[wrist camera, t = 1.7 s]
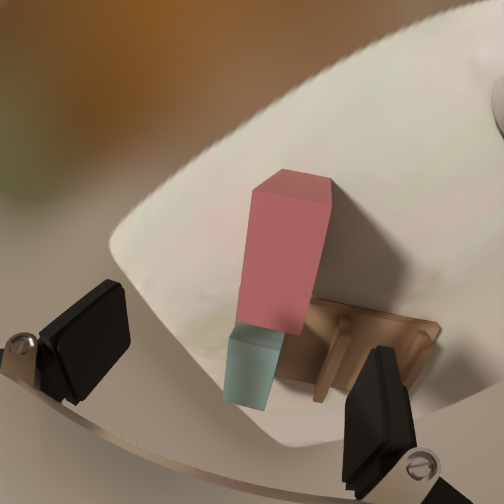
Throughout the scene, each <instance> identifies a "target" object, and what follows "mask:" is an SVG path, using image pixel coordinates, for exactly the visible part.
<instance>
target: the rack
mask: <svg viewBox="0 0 504 504" xmlns="http://www.w3.org/2000/svg"><path fill="white" fill-rule="evenodd" d="M239 294H240V288H239ZM238 302H239V296H238ZM237 310H238V304H237ZM236 318H237V313H236ZM439 330H440V328H439V326H438V324H437V322H432V321H427V320H421V319H416V318H410V317H405V316H400V315H395V314H390V313H385V312H379V311H374V310H369V309H364V308H360V307H355V306H350V305H345V304H340V303H335V302H331V301H326V300H321V299H317V298H312V297H311V299H310V303H309V307H308V310H307V314H306V318H305V321H304V325H303V329H302V332H301V336H298V335H294V334H290V333H285V332H281V331H277V330H272V329H268V328H264V327H260V326H256V325H252V324H248V323H244V322H240V321H235V327H234V329H233V331H232V333H231V335H230V337H229V342H228V352H227V361H226V371H225V381H224V391H223V400H224V401H228V402H231V403H234V404H238V405H241V406H245V407H249V408H253V409H257V410H260V411H264V410H265V406H266V403H267V399H268V396H269V393H270V389H271V386H272V382H273V378H274V375H275V376H279V377H284V378H288V379H293V380H297V381H302V382H307V383H312V384H315V390H314V397H313V402H319V403H323V401H324V399H325V397H326V394H327V392H328V390H329V388H330V387H333V388H339V389H345V390H351V389H352V387H353V385H354V383H355V381H356V379H357V377H358V375H359V373H360V371H361V369H362V367H363V365H364V363H365V361H366V359H367V357H368V354H369V352H370V350H371V349H372V348H374V349H376V347H377V346H378V345H381V346H387V347H393V348H394V350H395V354H396V359H397V363H398V368H399V373H400V378H401V383H402V385H405V386H406V388H407V390H409V389H410V387H411V386H412V384H413V383H414V381H415V379H416V378H417V376H418V375H419V373H420V371H421V370H422V368H423V366H424V365H425V363H426V361H427V360H428V358H429V356H430V354H431V353H432V348H431V345H432V343H433V341H434V340H435V338H436V336H437V334H438V332H439Z"/></svg>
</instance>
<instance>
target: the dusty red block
mask: <svg viewBox="0 0 504 504" xmlns="http://www.w3.org/2000/svg"><path fill="white" fill-rule="evenodd" d="M331 209H332V193H331V178H327V177H322V176H317V175H312V174H307V173H302V172H297V171H291V170H286V169H281V170H280V171H278V172H277V173H276V174H274V175H273V176H271V177H270V178H269V179H267V180H266V181H264V182H263V183H262V184H260V185H259V186H257V187H256V188H255V189H253V191H252V198H251V206H250V214H249V222H248V230H247V238H246V245H245V253H244V261H243V269H242V277H241V285H240V294H239V302H238V310H237V318H236V321H240V322H244V323H248V324H252V325H256V326H260V327H264V328H268V329H272V330H277V331H281V332H285V333H290V334H294V335H298V336H301V332H302V329H303V325H304V321H305V318H306V314H307V310H308V307H309V303H310V299H311V295H312V291H313V287H314V283H315V279H316V275H317V271H318V267H319V263H320V259H321V255H322V250H323V246H324V241H325V237H326V233H327V228H328V223H329V219H330V214H331Z"/></svg>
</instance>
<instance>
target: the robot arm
mask: <svg viewBox="0 0 504 504" xmlns="http://www.w3.org/2000/svg"><path fill="white" fill-rule="evenodd" d="M39 335H40V338H39V339H38V340H37V338H36V336H34V335H33V334H31V333H25V332H23V333H18V334H16V335H14V336H12V337H11V338H10V339H9V340H8V341H7V343H6V345H5V348H4V349H0V504H473V503H472V502H471V501H470V500H469V499H467V498H466V497H465V496H464V495H462V494H461V493H460V492H458V491H457V490H456V489H455V488H453V487H452V486H451V485H450V484H448V483H447V482H446V481H445V480H444V479H442V478H441V477H440V473H441V462H440V460H439V458H438V456H437V455H436V454H435V453H434V452H433V451H431V450H429V449H427V448H423V447H417V442H416V436H415V430H414V423H413V417H412V411H411V406H410V400H409V395H408V390H407V388H406V386H405V385H402V383H401V378H400V373H399V368H398V363H397V359H396V354H395V350H394V348H393V347H387V346H381V345H378V346H377V347H376V349H374V348H372V349H371V350H370V352H369V354H368V357H367V359H366V361H365V363H364V365H363V367H362V369H361V371H360V373H359V375H358V377H357V379H356V381H355V383H354V385H353V387H352V389H351V391H350V393H349V395H348V396H347V399H346V403H345V428H344V452H343V468H342V482H345V483H346V490H353V491H355V497H356V499H355V500H351V499H342V498H333V497H326V496H317V495H310V494H303V493H296V492H290V491H285V490H279V489H273V488H269V487H264V486H259V485H255V484H250V483H246V482H242V481H238V480H234V479H230V478H227V477H223V476H220V475H216V474H213V473H210V472H207V471H203V470H200V469H197V468H194V467H191V466H188V465H185V464H183V463H180V462H177V461H174V460H172V459H169V458H167V457H164V456H162V455H159V454H157V453H154V452H152V451H149V450H147V449H145V448H143V447H140V446H138V445H136V444H133V443H132V442H129V441H127V440H125V439H123V438H121V437H119V436H117V435H115V434H113V433H111V432H109V431H107V430H105V429H103V428H101V427H99V426H97V425H96V424H94V423H92V422H90V421H89V420H87V419H85V418H83V417H81V416H80V415H78V414H76V413H75V412H73V411H72V410H70V409H68V408H67V407H65V406H63V405H62V400H63V399H64V398H65V399H66V400H67V401H69V402H71V403H72V404H74V405H75V406H76V405H77V404H78V403H79V402H80V401H83V400H85V399H86V397H87V396H88V395H89V394H90V392H91V391H92V390H93V389H94V388H95V387H96V386H97V384H98V383H99V382H100V381H101V380H102V378H103V377H104V376H105V375H106V374H107V372H108V371H109V370H110V369H111V368H112V367H113V365H114V364H115V363H116V362H117V361H118V360H119V358H120V357H121V356H122V355H123V354H124V353H125V351H126V350H127V349H128V348H129V346H130V342H131V339H130V332H129V325H128V317H127V309H126V301H125V291H124V289H123V288H122V285H121V284H120V283H119V282H115V281H112V280H109V279H106V280H105V281H103V282H102V283H101V284H99V285H98V286H97V287H96V288H94V289H93V290H91V291H90V292H89V293H88V294H86V295H85V296H84V297H83V298H81V299H80V300H79V301H77V302H76V303H75V304H74V305H72V306H71V307H70V308H69V309H67V310H66V311H65V312H64V313H62V314H61V315H60V316H59V317H57V318H56V319H55V320H54V321H52V322H51V323H50V324H49V325H48V326H46V327H45V328H44V329H43V330H42V331H40V332H39Z"/></svg>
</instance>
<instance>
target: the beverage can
mask: <svg viewBox="0 0 504 504" xmlns="http://www.w3.org/2000/svg"><path fill="white" fill-rule="evenodd" d="M491 100H492V109H493V113H494V117H495V119H496V122H497V124H498V126H499V128H500V129H501V131H502V132H503V134H504V76H503V77H501V78H499V79H498V80H497V81H496V83H495V84H494V87H493V90H492V98H491Z"/></svg>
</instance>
